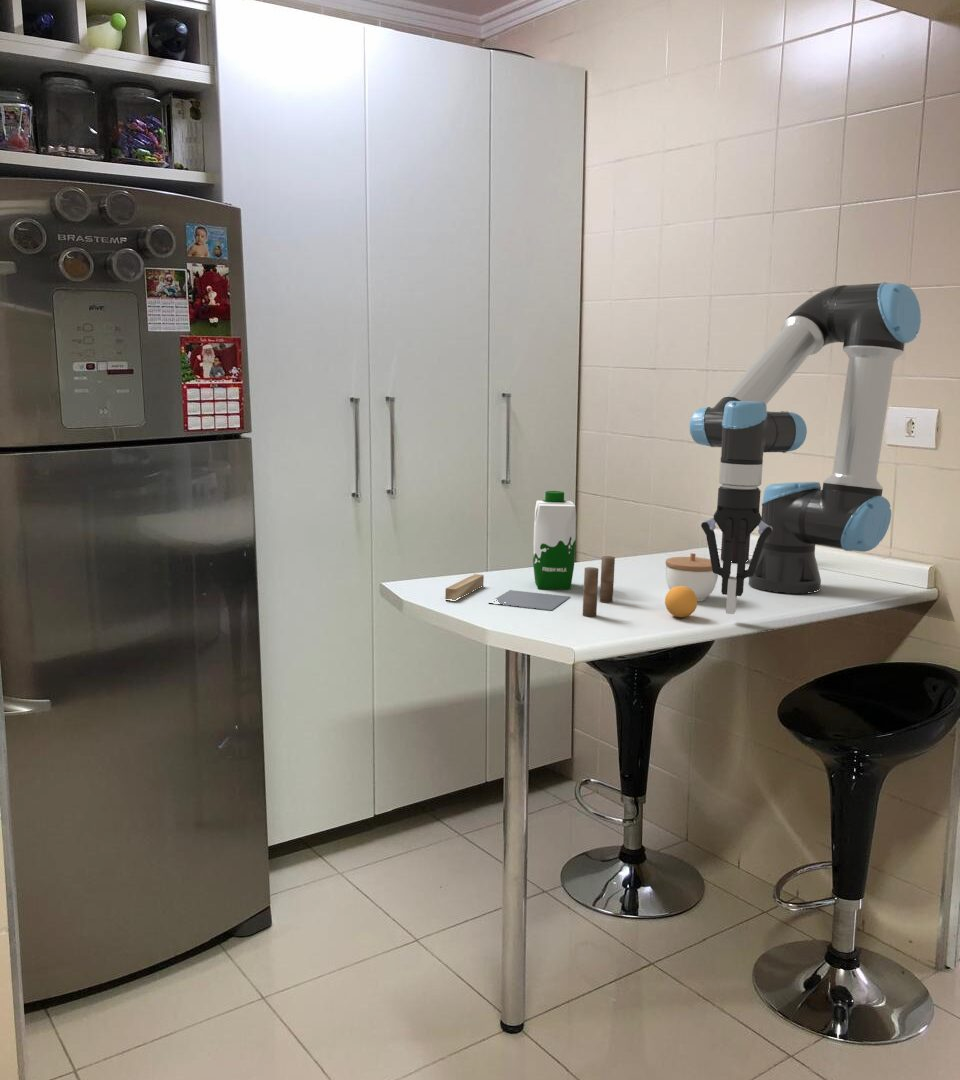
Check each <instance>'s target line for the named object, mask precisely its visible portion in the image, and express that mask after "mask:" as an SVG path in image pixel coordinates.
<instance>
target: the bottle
mask: <svg viewBox="0 0 960 1080" xmlns="http://www.w3.org/2000/svg"><path fill="white" fill-rule="evenodd" d="M721 533H722V532H721ZM724 537H725V535H724V534H723V533H722V534H721V549H720V560H721V561H722V560H723V556H724ZM750 542H751V534H750V535H749V536H748V538H747V548H746V561H747V560H748V561H749V560H750V558H749V557H750V545H751V543H750ZM738 547H739V537H737V536H733V544H732V558H731V561H732V562H738Z"/></svg>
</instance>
